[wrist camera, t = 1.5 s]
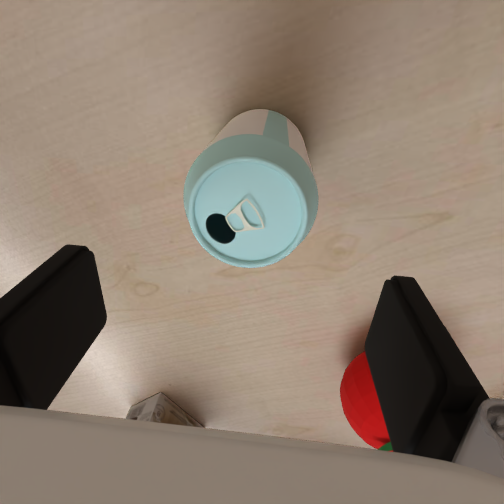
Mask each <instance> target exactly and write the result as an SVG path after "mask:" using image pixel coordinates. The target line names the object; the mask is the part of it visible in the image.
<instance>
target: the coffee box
mask: <svg viewBox="0 0 504 504" xmlns="http://www.w3.org/2000/svg"><path fill="white" fill-rule="evenodd" d="M126 419H131V420H140V421H149V422H157V423H166V424H174V425H183V426H191V427H200V428H204V427H203V426H201V425H200V424H199V423H198V422H197V421H195V420H194V419H193V418H192V417H190V416H189V415H188V414H187V413H186V412H184V411H183V410H182V409H181V408H179V407H178V406H177V405H176V404H175V403H173V402H172V401H171V400H170V399H169V398H167V397H166V396H165V395H164V394H162V393H158V394H156V395H154V396H152V397H150V398H148V399H146V400H144V401H142V402H140V403H138V404H136V405H134V406H132V407H131V408H130V410H129V412H128V414H127V417H126Z"/></svg>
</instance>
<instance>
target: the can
mask: <svg viewBox="0 0 504 504" xmlns="http://www.w3.org/2000/svg"><path fill="white" fill-rule="evenodd" d="M184 207H185V212H186V215H187V218H188V221H189V223H190V226H191V229H192V232H193V234H194V236H195V237H196V239H197V241H198V242H199V243H200V245H201V246H202V247H203V248H204V249H205V250H206V251H207V252H208V253H209V254H211V255H212V256H213V257H215V258H217V259H218V260H220V261H222V262H225V263H227V264H230V265H233V266H237V267H244V268H257V267H263V266H267V265H271V264H273V263H276V262H278V261H280V260H282V259H283V258H285V257H286V256H287V255H289V254H290V253H291V252H292V251H293V250H294V249H295V248H296V247H297V246H298V245H299V244H300V243H301V242H302V241H303V240H304V239H305V237H306V236H307V235H308V233H309V231H310V230H311V228H312V226H313V223H314V221H315V218H316V215H317V210H318V190H317V185H316V181H315V178H314V175H313V171H312V168H311V164H310V161H309V157H308V154H307V150H306V147H305V143H304V140H303V138H302V135H301V133H300V131H299V130H298V128H297V127H296V126H295V125H294V124H293V123H292V122H291V121H290V120H289V119H288V118H287V117H285V116H283V115H282V114H280V113H278V112H275V111H271V110H266V109H254V110H249V111H246V112H243V113H241V114H239V115H237V116H236V117H234V118H233V119H232V120H230V121H229V122H228V123H227V124H226V126H225V127H224V128H223V129H222V130H221V131H220V132H219V133H218V135H217V136H216V137H215V138H214V139H213V140H212V141H211V143H210V144H209V145H208V146H207V147H206V148H205V149H204V150H203V152H202V153H201V154H200V155H199V156H198V157H197V159H196V160H195V161H194V163H193V164H192V166H191V168H190V170H189V172H188V174H187V177H186V181H185V185H184Z"/></svg>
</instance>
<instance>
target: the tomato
mask: <svg viewBox="0 0 504 504" xmlns="http://www.w3.org/2000/svg"><path fill="white" fill-rule="evenodd" d="M340 396H341V402H342V407H343V411H344V414H345V416H346V418H347V420H348V422H349V423H350V425H351V427H352V428H353V429H354V431H355V432H356V433H357V434H358V435H359V436H360V437H361V438H362V439H363V440H364V441H365V442H366V443H367V444H369V445H371V446H372V447H374V448H376V449H378V450H383V451H390V452H393V449H392V445H391V442H390V438H389V435H388V431H387V428H386V424H385V421H384V417H383V414H382V410H381V407H380V403H379V400H378V396H377V393H376V389H375V386H374V382H373V379H372V375H371V372H370V368H369V365H368V361H367V358H366V354H365V351H364V352H363V353H361V354H359V355H358V356H356V357H355V358H354V359H353V361H352V362H351V363H350V364H349V366H348V367H347V368H346V370H345V373H344V375H343V379H342V382H341V387H340Z"/></svg>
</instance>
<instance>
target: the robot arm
mask: <svg viewBox="0 0 504 504" xmlns="http://www.w3.org/2000/svg"><path fill="white" fill-rule="evenodd" d="M106 320H107V314H106V309H105V304H104V300H103V295H102V290H101V285H100V281H99V276H98V271H97V266H96V261H95V257H94V253H93V252H92V251H89V249H88V248H87V247H86V246H79V245H65V246H64V247H62V248H61V249H60V250H59V251H58V252H56V253H55V254H54V255H53V256H52V257H50V258H49V259H48V260H47V261H45V262H44V263H43V264H42V265H41V266H39V267H38V268H37V269H36V270H34V271H33V272H32V273H31V274H30V275H28V276H27V277H26V278H25V279H23V280H22V281H21V282H20V283H19V284H17V285H16V286H15V287H14V288H12V289H11V290H10V291H9V292H8V293H6V294H5V295H4V296H3V297H2V298H0V504H504V400H503V399H495V398H491V399H490V398H489V397H488V395H487V393H486V392H485V390H484V389H483V387H482V385H481V384H480V382H479V381H478V379H477V377H476V376H475V374H474V372H473V371H472V369H471V368H470V366H469V364H468V363H467V361H466V360H465V358H464V356H463V355H462V353H461V352H460V350H459V348H458V347H457V345H456V344H455V342H454V340H453V339H452V337H451V335H450V334H449V332H448V331H447V329H446V327H445V326H444V325H443V323H442V322H441V320H440V319H439V317H438V315H437V314H436V312H435V310H434V309H433V307H432V306H431V304H430V302H429V301H428V299H427V298H426V296H425V294H424V293H423V291H422V290H421V288H420V286H419V285H418V283H417V281H416V280H415V279H414V278H413V277H404V276H393V277H392V278H391V280H386V281H385V283H384V285H383V289H382V292H381V295H380V298H379V301H378V304H377V307H376V310H375V314H374V317H373V320H372V323H371V326H370V329H369V332H368V335H367V339H366V342H365V354H366V358H367V361H368V365H369V368H370V372H371V375H372V379H373V382H374V386H375V389H376V393H377V396H378V400H379V403H380V407H381V410H382V414H383V417H384V421H385V424H386V428H387V431H388V435H389V438H390V442H391V445H392V449H393V452H390V451H383V450H376V449H369V448H362V447H354V446H347V445H339V444H331V443H323V442H315V441H307V440H299V439H291V438H283V437H275V436H266V435H258V434H250V433H242V432H234V431H225V430H217V429H208V428H200V427H191V426H183V425H174V424H166V423H157V422H149V421H140V420H131V419H123V418H114V417H105V416H96V415H87V414H78V413H69V412H60V411H51V410H47V408H48V407H49V406H50V404H51V403H52V401H53V400H54V398H55V397H56V395H57V394H58V392H59V391H60V390H61V388H62V387H63V385H64V384H65V382H66V381H67V379H68V378H69V377H70V375H71V374H72V372H73V371H74V369H75V368H76V366H77V365H78V363H79V362H80V361H81V359H82V358H83V356H84V355H85V353H86V352H87V350H88V349H89V348H90V346H91V345H92V343H93V342H94V340H95V339H96V337H97V336H98V334H99V333H100V332H101V330H102V329H103V327H104V326H105V323H106Z"/></svg>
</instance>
